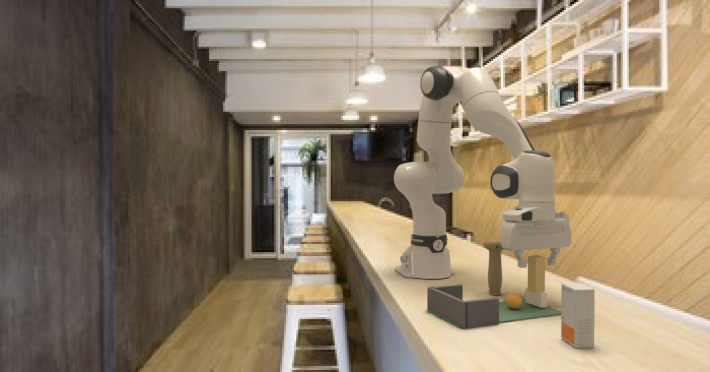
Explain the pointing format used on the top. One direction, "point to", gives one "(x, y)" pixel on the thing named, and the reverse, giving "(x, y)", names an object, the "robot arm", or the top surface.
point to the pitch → (516, 312)
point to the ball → (514, 301)
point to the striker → (536, 282)
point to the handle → (494, 267)
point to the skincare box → (577, 315)
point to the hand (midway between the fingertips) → (537, 266)
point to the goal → (462, 307)
